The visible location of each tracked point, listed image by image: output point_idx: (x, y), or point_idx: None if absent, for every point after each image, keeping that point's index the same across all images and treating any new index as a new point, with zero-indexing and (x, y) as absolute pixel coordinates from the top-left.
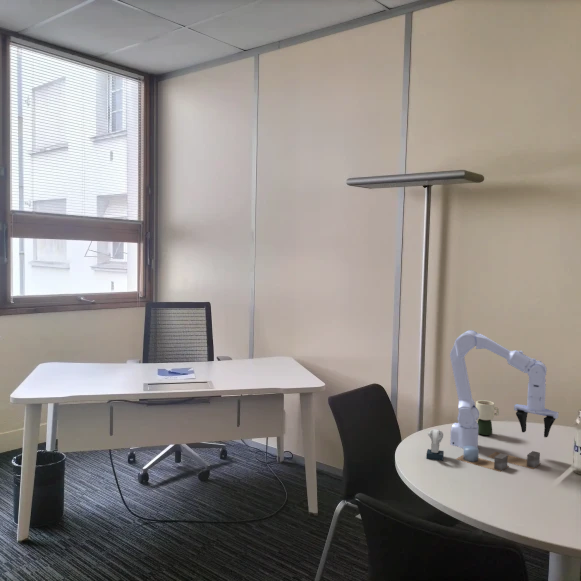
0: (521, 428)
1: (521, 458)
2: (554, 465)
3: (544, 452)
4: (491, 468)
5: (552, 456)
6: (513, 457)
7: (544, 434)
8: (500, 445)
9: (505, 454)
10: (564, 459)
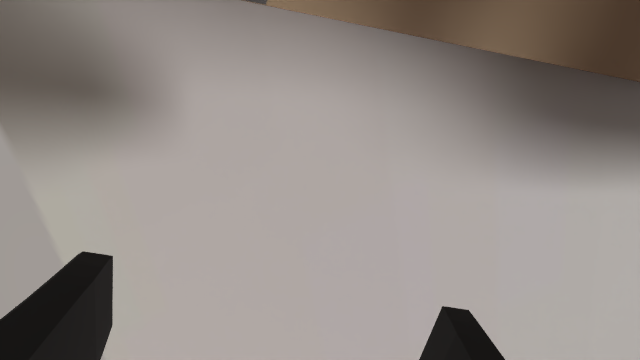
0: (497, 349)
1: (400, 31)
2: (102, 96)
3: (255, 331)
4: None
5: (182, 285)
6: (484, 13)
7: (86, 279)
8: (585, 313)
9: (570, 60)
10: None
